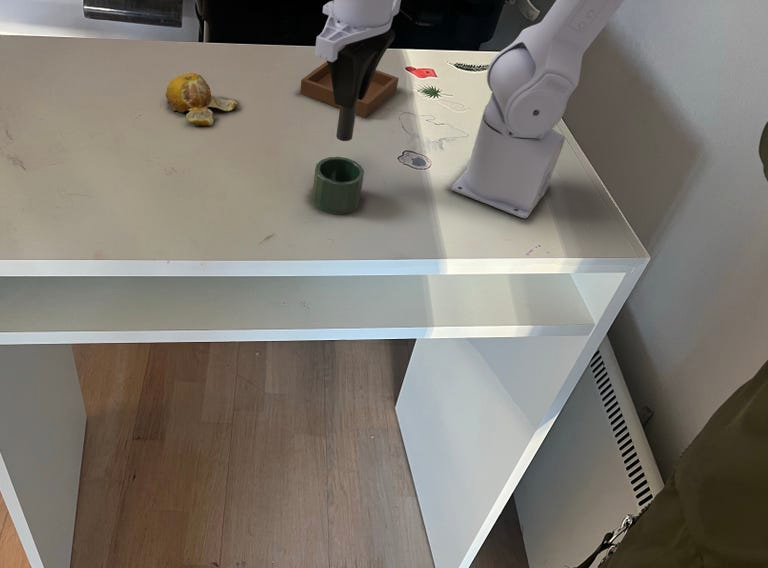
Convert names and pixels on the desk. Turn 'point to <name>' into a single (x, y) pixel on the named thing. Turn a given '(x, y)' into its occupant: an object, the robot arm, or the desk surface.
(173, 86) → the fruit
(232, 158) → the desk surface
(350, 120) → the marker
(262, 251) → the desk surface
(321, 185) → the green hollow cylinder
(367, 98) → the brown tray
